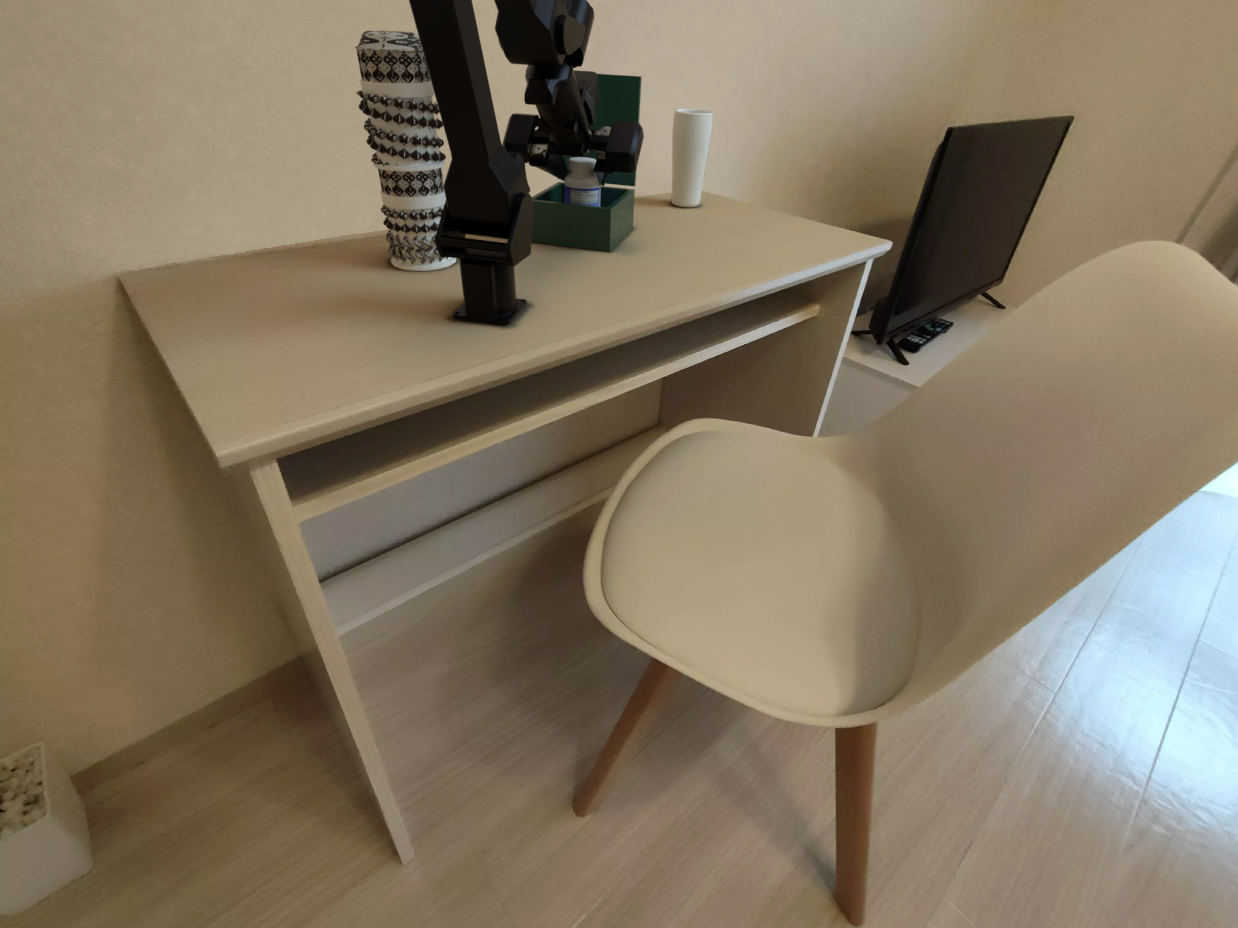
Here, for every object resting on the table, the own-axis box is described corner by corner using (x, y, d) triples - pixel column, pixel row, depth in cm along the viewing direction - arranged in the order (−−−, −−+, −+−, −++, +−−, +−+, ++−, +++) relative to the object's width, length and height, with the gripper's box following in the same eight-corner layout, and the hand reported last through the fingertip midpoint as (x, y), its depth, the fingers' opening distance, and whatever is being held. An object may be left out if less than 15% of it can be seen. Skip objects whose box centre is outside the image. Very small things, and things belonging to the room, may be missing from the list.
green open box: (609, 251, 87) (610, 209, 84) (528, 241, 90) (525, 200, 86) (633, 227, 98) (634, 189, 95) (559, 219, 101) (558, 181, 97)
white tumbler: (660, 201, 113) (667, 109, 104) (691, 199, 116) (700, 108, 107) (678, 210, 108) (686, 114, 100) (710, 207, 111) (721, 113, 102)
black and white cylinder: (372, 264, 79) (324, 29, 65) (420, 246, 86) (387, 30, 72) (428, 276, 76) (391, 33, 62) (473, 257, 83) (449, 33, 69)
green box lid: (640, 76, 86) (647, 76, 90) (556, 71, 89) (566, 71, 92) (634, 186, 94) (641, 182, 98) (557, 179, 97) (566, 175, 100)
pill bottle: (567, 223, 96) (567, 155, 90) (602, 226, 95) (603, 157, 90) (561, 232, 91) (560, 161, 86) (597, 235, 91) (598, 163, 85)
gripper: (645, 49, 75) (657, 138, 90) (504, 42, 79) (539, 128, 94) (626, 129, 73) (642, 206, 88) (483, 118, 77) (522, 193, 92)
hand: (585, 181), depth 91 cm, fingers closed on pill bottle, 5 cm apart
